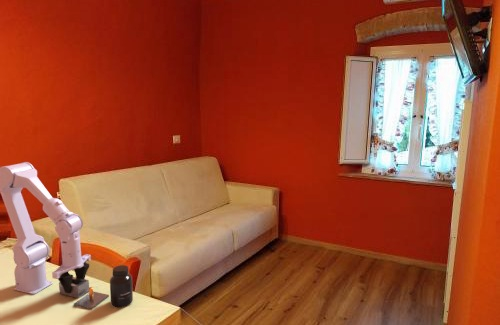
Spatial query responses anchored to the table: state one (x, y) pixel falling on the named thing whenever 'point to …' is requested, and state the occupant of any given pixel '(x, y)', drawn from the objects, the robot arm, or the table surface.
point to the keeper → (91, 299)
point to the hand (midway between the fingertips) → (74, 288)
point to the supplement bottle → (121, 287)
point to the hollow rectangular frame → (76, 287)
